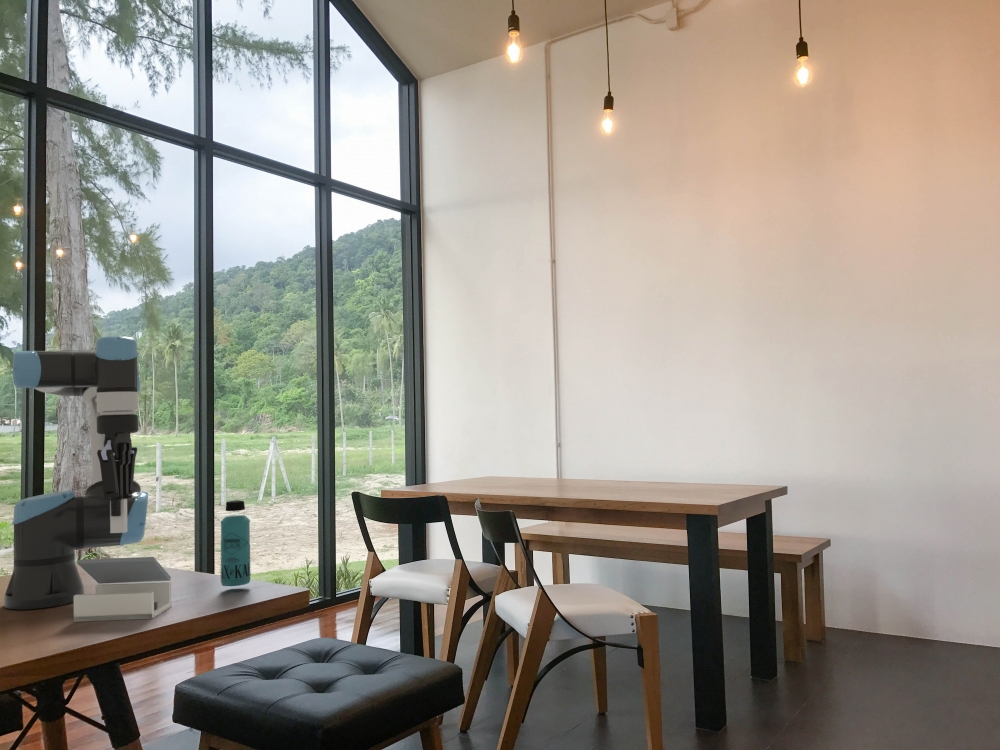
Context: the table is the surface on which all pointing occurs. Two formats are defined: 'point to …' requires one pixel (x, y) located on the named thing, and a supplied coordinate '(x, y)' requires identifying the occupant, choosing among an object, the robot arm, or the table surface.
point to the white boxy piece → (123, 602)
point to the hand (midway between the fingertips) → (119, 532)
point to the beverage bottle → (235, 547)
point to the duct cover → (124, 570)
